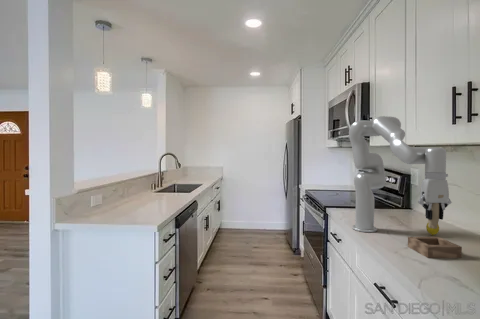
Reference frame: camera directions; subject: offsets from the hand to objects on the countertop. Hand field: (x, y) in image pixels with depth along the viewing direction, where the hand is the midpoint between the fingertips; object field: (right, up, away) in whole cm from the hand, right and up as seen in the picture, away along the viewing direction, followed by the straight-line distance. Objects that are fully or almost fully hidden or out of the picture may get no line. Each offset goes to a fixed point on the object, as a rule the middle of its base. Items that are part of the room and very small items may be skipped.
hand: (434, 218), depth 128 cm
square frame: (0, -15, +1) cm, 15 cm away
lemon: (+15, -14, +25) cm, 32 cm away
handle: (0, -4, +1) cm, 5 cm away
